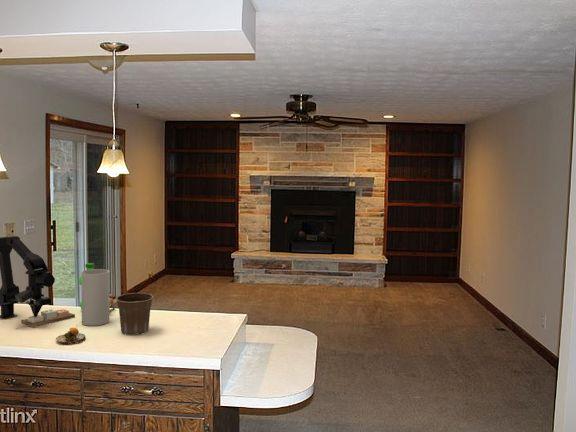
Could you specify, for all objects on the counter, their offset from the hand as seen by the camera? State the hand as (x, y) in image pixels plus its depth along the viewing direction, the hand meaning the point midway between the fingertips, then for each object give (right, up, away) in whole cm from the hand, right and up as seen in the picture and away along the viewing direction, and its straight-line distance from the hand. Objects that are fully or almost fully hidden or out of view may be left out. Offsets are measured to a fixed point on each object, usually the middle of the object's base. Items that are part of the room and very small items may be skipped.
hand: (35, 316), depth 236 cm
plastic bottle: (+17, -2, +23) cm, 29 cm away
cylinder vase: (+27, -4, +5) cm, 28 cm away
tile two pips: (+4, -2, +6) cm, 7 cm away
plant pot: (+49, -6, -7) cm, 50 cm away
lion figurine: (+27, -3, +22) cm, 35 cm away
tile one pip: (0, -3, 0) cm, 3 cm away
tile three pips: (+7, -2, +11) cm, 13 cm away
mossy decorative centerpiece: (+26, -7, -21) cm, 35 cm away
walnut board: (+4, -3, +6) cm, 7 cm away
